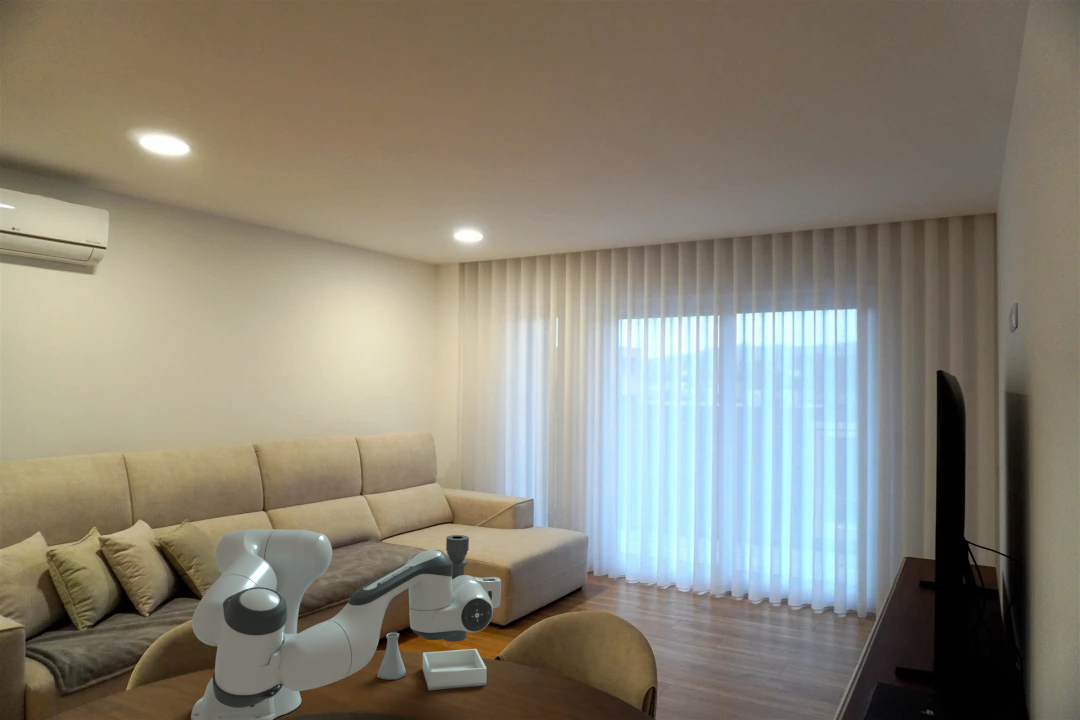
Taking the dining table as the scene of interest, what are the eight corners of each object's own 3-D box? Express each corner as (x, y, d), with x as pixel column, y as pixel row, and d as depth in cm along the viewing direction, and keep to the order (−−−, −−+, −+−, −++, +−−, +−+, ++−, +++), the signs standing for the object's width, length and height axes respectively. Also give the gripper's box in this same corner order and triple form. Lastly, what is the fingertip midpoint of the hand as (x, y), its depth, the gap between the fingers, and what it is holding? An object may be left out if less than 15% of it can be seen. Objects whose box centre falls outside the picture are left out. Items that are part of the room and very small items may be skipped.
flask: (399, 682, 172) (400, 640, 172) (371, 679, 173) (373, 637, 174) (410, 671, 179) (411, 631, 179) (384, 668, 180) (385, 628, 181)
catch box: (428, 690, 167) (429, 673, 167) (422, 668, 180) (422, 652, 181) (486, 685, 171) (486, 668, 171) (475, 664, 184) (476, 648, 184)
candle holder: (439, 633, 178) (442, 535, 179) (462, 631, 181) (466, 534, 181) (445, 642, 173) (448, 541, 173) (469, 640, 175) (472, 539, 175)
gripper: (419, 611, 162) (414, 595, 175) (506, 606, 167) (494, 591, 180) (420, 584, 162) (414, 570, 175) (506, 579, 167) (494, 566, 181)
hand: (455, 580), depth 178 cm, fingers closed on candle holder, 4 cm apart
